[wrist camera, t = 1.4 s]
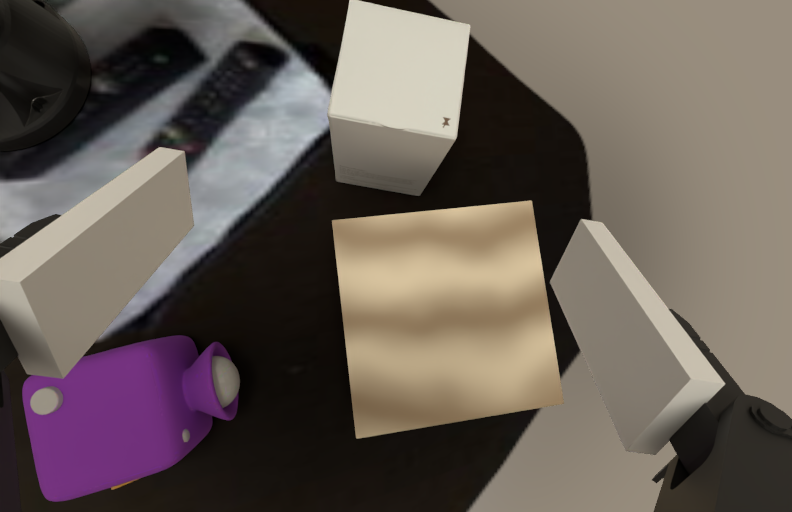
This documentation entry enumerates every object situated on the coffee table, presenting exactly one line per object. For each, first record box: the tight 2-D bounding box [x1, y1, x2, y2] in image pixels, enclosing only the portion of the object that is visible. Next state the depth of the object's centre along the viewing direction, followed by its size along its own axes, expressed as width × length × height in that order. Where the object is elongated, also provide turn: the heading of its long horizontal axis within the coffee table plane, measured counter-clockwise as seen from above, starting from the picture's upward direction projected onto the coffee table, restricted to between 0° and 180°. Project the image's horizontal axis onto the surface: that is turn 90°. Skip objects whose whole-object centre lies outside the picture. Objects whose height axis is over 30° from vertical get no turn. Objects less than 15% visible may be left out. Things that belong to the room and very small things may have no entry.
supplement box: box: [327, 0, 470, 196], centre depth 35 cm, size 9×9×15 cm
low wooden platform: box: [332, 201, 564, 439], centre depth 36 cm, size 16×16×10 cm
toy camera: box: [22, 335, 240, 502], centre depth 33 cm, size 11×14×10 cm
